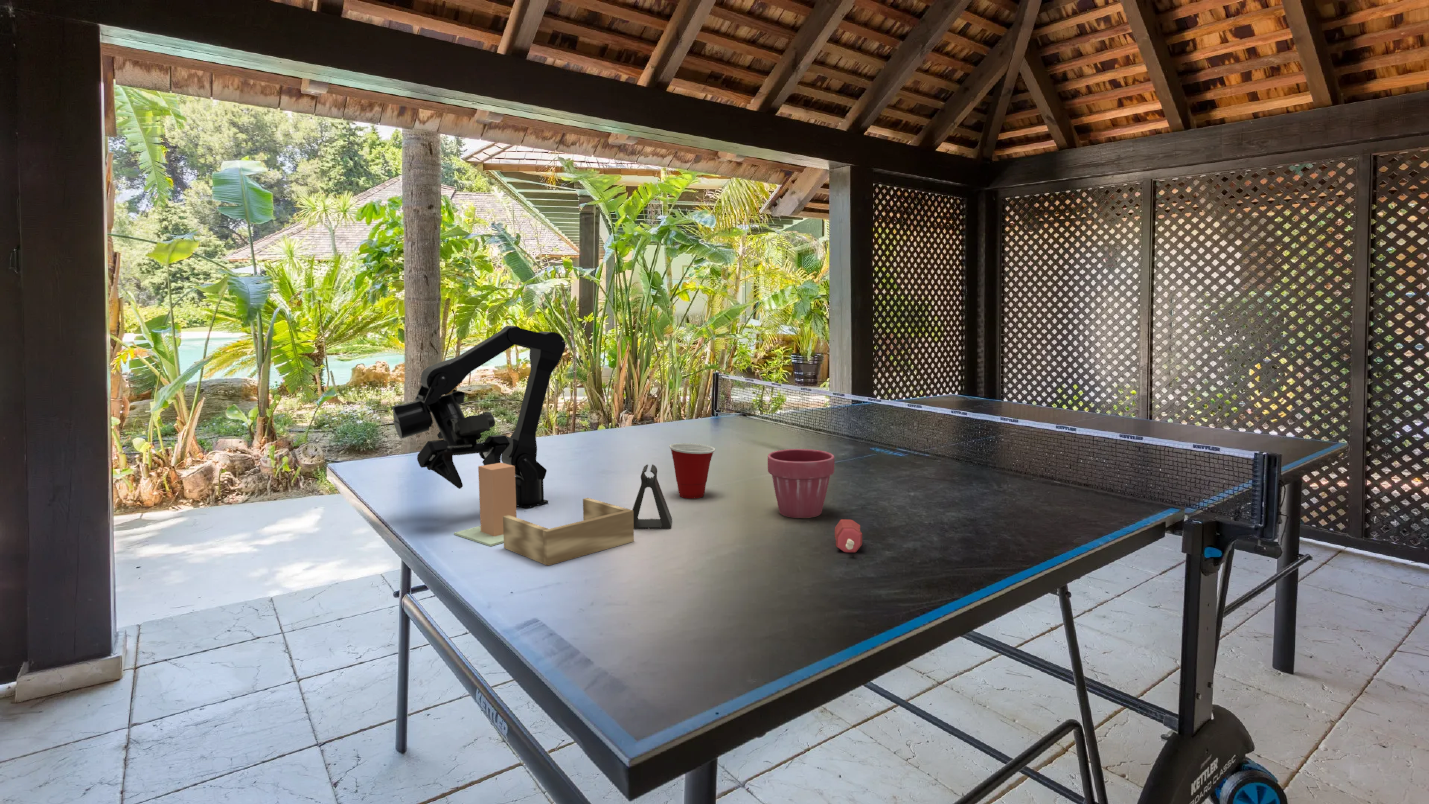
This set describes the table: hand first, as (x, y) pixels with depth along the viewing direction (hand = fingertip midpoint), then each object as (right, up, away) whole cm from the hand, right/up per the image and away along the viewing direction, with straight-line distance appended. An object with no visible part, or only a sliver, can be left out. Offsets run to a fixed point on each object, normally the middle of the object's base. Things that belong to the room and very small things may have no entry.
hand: (480, 484), depth 155 cm
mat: (+5, -9, -4) cm, 11 cm away
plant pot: (+66, -8, +11) cm, 67 cm away
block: (+5, -9, -4) cm, 11 cm away
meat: (+72, -11, -13) cm, 74 cm away
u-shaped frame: (+20, -10, -11) cm, 25 cm away
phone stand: (+34, -9, +2) cm, 35 cm away
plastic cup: (+42, -6, +26) cm, 50 cm away
